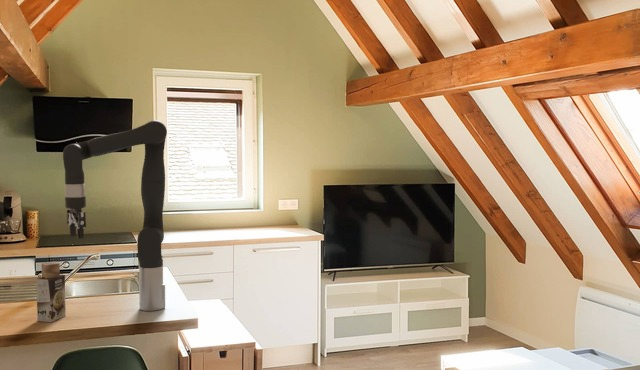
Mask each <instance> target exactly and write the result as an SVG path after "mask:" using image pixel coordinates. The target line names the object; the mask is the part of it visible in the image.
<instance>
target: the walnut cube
mask: <svg viewBox="0 0 640 370" xmlns="http://www.w3.org/2000/svg"><path fill="white" fill-rule="evenodd" d="M60 271H61V270H60V263H59V262H57V261H47V262H41V277H44V278H46V279H47V278H55V277H60V275H61V274H60Z"/></svg>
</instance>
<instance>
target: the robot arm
mask: <svg viewBox="0 0 640 370" xmlns="http://www.w3.org/2000/svg"><path fill="white" fill-rule="evenodd" d="M167 134H168V130H167V127H166V125H165V124H164V123H163V122H162V121H160V120H155V119H153V120H150V121H147V123H145V124H143V125H140V126H137V127H136V128H133V129H129V130H126V131H121V132H117V133H110V134H107V135H103V136H99V137H94V138H92V139H89V140H86V141H80V142H76V143H70V144H68V145H65V147H64V148H63V151H62V159H63V166H64V203H65V204H64V207H65V209H66V225H68V227H69V237H76V236H77V239H78V240H79V239H84V237H85V231H84V229H85V228H87V218H86V216H87V215H86V211H82V209H85V208H86V207H87V199H86V196H87V193H86V185H85V173H84V171H85V170H84V169H83V161H84V160H87V159H90V158H93V157H94V158H95V157H100V156H104V155H105V156H106V155H108V154H112V153H115V152H118V151H121V150H124V149H127V148H130V147H135V146H140V145H144V160H143V164H142V169H141V170H142V171H141V177H140V179H141V182H140V193H141V194H140V196H141V201H142V206H143V224H142V229H141V230H140V231H139V232H138V234H137V260H138V266H139V267H138V268H139V270H138V271H139V273H138V275H139V276H138V277H139V278H138V279H139V280H138V281H139V283H138V285H139V286H138V287H139V290H138V291H139V310H141V311H144V312H145V311H146V312H152V311H153V312H154V311H160V310H162V309H165V308H166V285H165V284H164V271H163V270H164V259H163V257H162V256H163V255H162V244H163V242H164V240H165V239H164V236H165V233H164V220H163V217H164V216H163V211H164V204H165V203H164V202H165V191H166V169H165V158H164V154H165V145H166V139H167Z"/></svg>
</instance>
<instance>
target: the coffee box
mask: <svg viewBox="0 0 640 370" xmlns="http://www.w3.org/2000/svg"><path fill="white" fill-rule="evenodd" d="M36 313H37V314H36V315H37V317H36V319H37V320H36V321H37V322H46V323H53V322H55V321H57V320H59V319H61V318H64V317H65V316H66V274H60V277H55V278H47V279H46V278H44V277H42V276H41V277H39V278H36Z"/></svg>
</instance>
